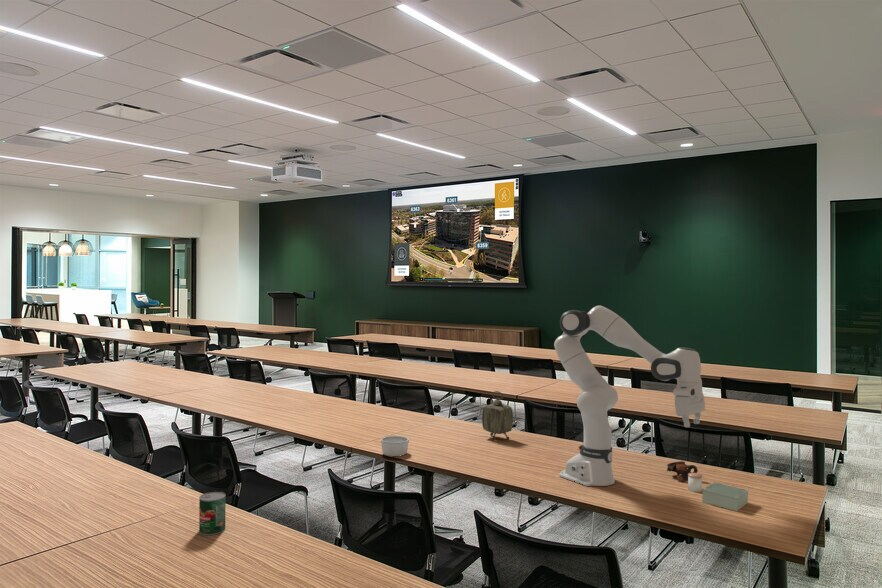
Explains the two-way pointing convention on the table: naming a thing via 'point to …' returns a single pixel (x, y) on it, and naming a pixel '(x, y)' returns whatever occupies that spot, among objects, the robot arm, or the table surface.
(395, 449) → the ramekin
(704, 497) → the sage box
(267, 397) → the table surface
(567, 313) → the robot arm
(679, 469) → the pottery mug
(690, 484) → the pink capped tube
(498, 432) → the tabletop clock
